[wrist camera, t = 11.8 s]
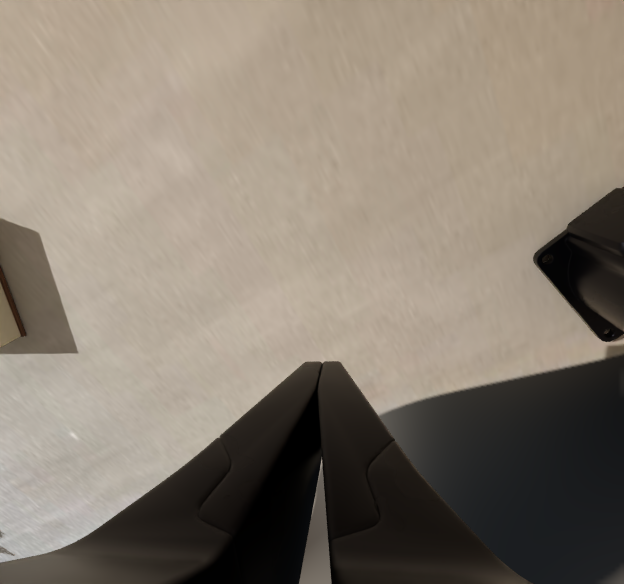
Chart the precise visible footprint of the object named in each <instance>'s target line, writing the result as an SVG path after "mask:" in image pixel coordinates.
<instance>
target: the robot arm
mask: <svg viewBox="0 0 624 584" xmlns="http://www.w3.org/2000/svg"><path fill="white" fill-rule="evenodd" d="M545 255H549V259H548V260H547V261H546V262H542V258H543V257H544V256H545ZM533 261H534V263H535V265H536V266H537V267H538V268H539V269H540V270H541V272H542V273H543V274H544V275H545V276H546V278H547V279H548V280H549V281H550V282H551V283H552V285H553V286H554V287H555V288H556V289H557V291H558V292H559V293H560V294H561V295H562V296H563V298H564V299H565V300H566V301H567V302H568V304H569V305H570V306H571V307H572V308H573V309H574V311H575V312H576V313H577V314H578V315H579V317H580V318H581V319H582V320H583V321H584V322H585V324H586V325H587V326H588V327H589V328H590V330H591V331H592V332H593V333H594V334H595V335H596V336H597V337H598V338H599V339H601V340H602V341H605V342H610V341H613V340H615V339H617V338H618V337H620V336H621V335H623V334H624V187H622V188H616V189H614V190H613V191H612V192H610V193H609V194H608V195H606V196H605V197H604V198H602V199H601V200H600V201H598V202H597V203H596V204H594V205H593V206H592V207H590V208H589V209H588V210H586V211H585V212H584V213H582V214H581V215H580V216H578V217H577V218H576V219H574V220H573V221H571V222H570V223H569V224H568V226H567V229H566V230H565V231H563V232H562V233H561V234H559V235H558V236H557V237H555V238H554V239H553V240H551V241H550V242H549V243H547V244H546V245H545V246H543V247H542V248H541V249H539V250H538V251H537V252H536V253H535V255H534V257H533ZM608 329H610V330H609V332H608V333H606V334H604V332H605V331H606V330H608ZM321 458H322V463H323V475H324V489H325V502H326V515H327V529H328V542H329V555H330V568H331V580H332V584H533V583H531V582H529V581H527V580H526V579H524V578H523V577H521V576H519V575H518V574H517V573H515V572H514V571H513V570H511V569H510V568H509V567H508V566H507V565H506V564H504V563H503V562H502V561H501V560H500V559H499V558H498V557H497V556H496V555H495V554H494V553H493V552H492V551H491V550H490V549H489V548H488V547H487V546H486V545H485V544H484V543H483V542H482V541H481V540H480V538H479V537H478V536H477V535H476V534H475V533H474V532H473V531H472V530H471V529H470V528H469V527H468V526H467V524H466V523H465V522H463V520H462V519H461V518H460V517H459V516H458V515H457V514H456V513H455V512H454V510H452V508H451V507H450V506H449V505H448V504H447V503H446V502H445V501H444V500H443V499H442V498H441V497H440V495H439V494H438V493H437V492H436V491H435V490H434V489H433V488H432V487H431V485H430V484H429V483H428V482H427V481H426V480H425V479H424V477H423V476H422V475H421V474H420V473H419V472H418V470H417V469H416V468H415V466H414V465H413V464H412V462H411V461H410V460H409V459H408V457H407V456H406V455H405V453H404V452H403V450H402V449H401V447H400V446H399V445H398V443H397V442H396V441H395V439H394V438H393V436H392V435H391V433H390V432H389V431H388V429H387V428H386V426H385V425H384V423H383V422H382V421H381V419H380V418H379V416H378V415H377V414H376V412H375V411H374V409H373V408H372V406H371V405H370V404H369V402H368V401H367V399H366V398H365V396H364V395H363V394H362V392H361V391H360V389H359V388H358V387H357V385H356V384H355V382H354V381H353V379H352V378H351V377H350V375H349V374H348V372H347V371H346V369H345V368H344V367H343V365H342V364H341V363H340V362H338V361H332V362H324V363H323V364H322V363H321V362H305V363H304V364H302V365H301V366H300V367H299V368H298V369H297V370H295V371H294V372H293V373H292V374H291V375H290V376H288V377H287V378H286V379H285V380H284V381H283V382H282V383H280V384H279V385H278V386H277V387H276V388H275V389H273V390H272V391H271V392H270V393H269V394H268V395H267V396H265V397H264V398H263V399H262V400H261V401H260V402H258V403H257V404H256V405H255V406H254V407H253V408H251V409H250V410H249V411H248V412H247V413H246V414H245V415H243V416H242V417H241V418H240V419H239V420H238V421H236V422H235V423H234V424H233V425H232V426H231V427H230V428H228V429H227V430H226V431H225V432H224V433H223V434H221V435H220V438H217V439H215V440H214V441H213V442H212V443H211V444H210V445H209V446H207V447H206V448H205V449H204V450H203V451H201V452H200V453H199V454H198V455H197V456H195V457H194V458H193V459H192V460H190V461H189V462H188V463H187V464H186V465H184V466H183V467H182V468H180V469H179V470H178V471H176V472H175V473H174V474H172V475H171V476H170V477H168V478H167V479H166V480H164V481H163V482H162V483H160V484H159V485H157V486H156V487H155V488H153V489H152V490H150V491H149V492H148V493H146V494H145V495H144V496H142V497H141V498H139V499H138V500H137V501H135V502H134V503H132V504H131V505H130V506H128V507H127V508H125V509H124V510H123V511H121V512H120V513H118V514H117V515H116V516H114V517H113V518H112V519H110V520H109V521H107V522H106V523H105V524H103V525H102V526H100V527H99V528H98V529H96V530H95V531H93V532H92V533H90V534H89V535H87V536H85V537H84V538H82V539H80V540H78V541H76V542H75V543H72V544H70V545H68V546H66V547H63V548H61V549H58V550H55V551H52V552H49V553H46V554H42V555H37V556H32V557H27V558H22V559H17V560H12V561H7V562H1V563H0V584H299V579H300V574H301V569H302V563H303V558H304V553H305V547H306V542H307V536H308V531H309V525H310V520H311V514H312V509H313V503H314V498H315V493H316V487H317V482H318V476H319V471H320V465H321Z"/></svg>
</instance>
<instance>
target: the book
mask: <svg viewBox="0 0 624 584" xmlns="http://www.w3.org/2000/svg"><path fill="white" fill-rule="evenodd" d="M24 336H26V333H25V330H24V328H23V325H22V323H21V320H20V317H19V315H18V312H17V309H16V307H15V304H14V301H13V299H12V296H11V293H10V291H9V288H8V285H7V283H6V280H5V277H4V275H3V272H2V269H1V267H0V348H1V347H2V346H4V345H6V344H8V343H10V342H11V341H13V340H15V339H17V338H18V337H24Z"/></svg>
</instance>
